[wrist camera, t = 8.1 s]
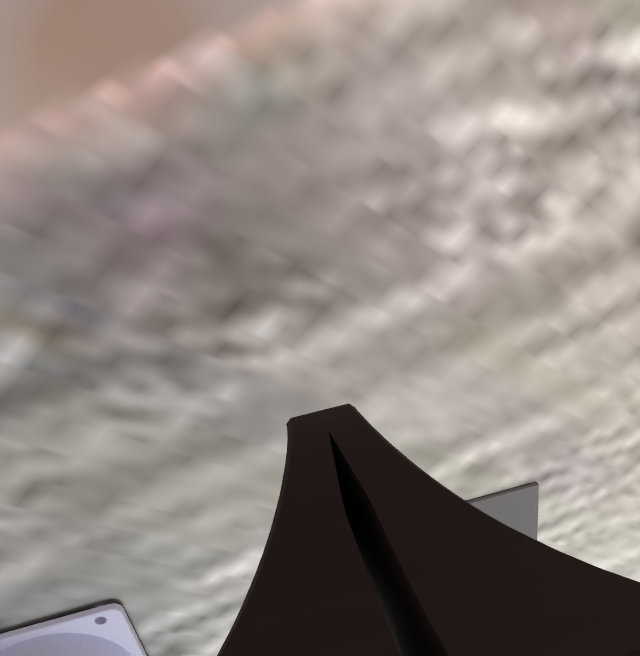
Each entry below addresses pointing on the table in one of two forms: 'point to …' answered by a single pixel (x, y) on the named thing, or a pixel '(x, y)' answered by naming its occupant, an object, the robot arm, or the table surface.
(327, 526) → the robot arm
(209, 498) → the table surface
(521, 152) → the table surface
